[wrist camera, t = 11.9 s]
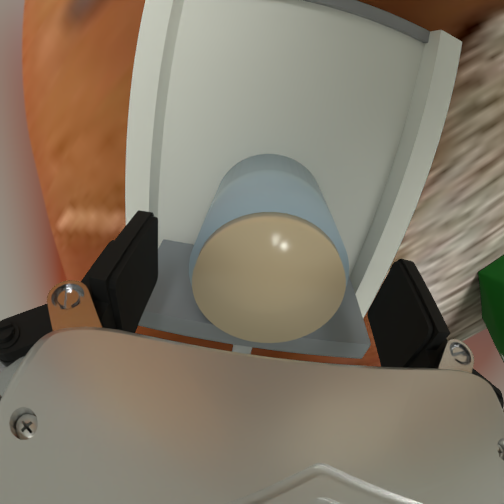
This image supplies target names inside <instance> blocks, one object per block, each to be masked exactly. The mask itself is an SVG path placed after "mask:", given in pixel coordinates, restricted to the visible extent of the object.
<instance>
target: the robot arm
mask: <svg viewBox="0 0 504 504" xmlns="http://www.w3.org/2000/svg"><path fill="white" fill-rule="evenodd" d="M157 279H158V218H157V217H154V214H153V212H146V211H140V210H138V211H137V212H136V214H135V215H134V216H133V217H132V219H131V220H130V221H129V222H128V224H127V225H126V226H125V228H124V229H123V230H122V232H121V233H120V234H119V235H118V237H117V238H116V239H115V240H112V241H111V242H110V243H109V244H108V245H107V246H106V248H105V249H104V250H103V252H102V253H101V254H100V256H99V257H98V258H97V260H96V261H95V263H94V264H93V265H92V267H91V268H90V270H89V271H88V272H87V274H86V275H85V277H84V278H83V280H82V281H81V282H79V281H73V280H69V281H64V282H61V283H59V284H57V285H56V286H54V287H53V288H52V289H51V290H50V292H49V294H48V296H47V304H45V305H42V306H40V307H37V308H34V309H31V310H28V311H26V312H23V313H20V314H17V315H15V316H12V317H9V318H6V319H4V320H2V321H0V504H504V410H503V404H504V402H503V397H502V393H501V391H500V390H499V389H498V388H496V387H495V386H494V385H492V384H491V383H490V382H489V381H488V380H487V379H486V378H484V377H483V376H482V375H480V374H479V373H478V372H477V371H476V370H474V369H473V364H474V357H473V354H472V352H471V350H470V349H469V347H468V346H467V345H466V344H465V343H463V342H462V341H460V340H457V339H451V340H449V341H448V342H447V339H446V338H447V337H448V335H449V334H450V332H449V329H448V327H447V325H446V323H445V321H444V319H443V317H442V315H441V313H440V311H439V309H438V307H437V305H436V303H435V301H434V299H433V297H432V295H431V293H430V291H429V289H428V288H427V286H426V284H425V282H424V280H423V278H422V277H421V275H420V273H419V271H418V269H417V268H416V266H415V264H414V263H413V262H412V261H408V260H404V259H399V260H398V261H397V262H394V264H393V265H392V267H391V269H390V271H389V273H388V275H387V277H386V279H385V281H384V283H383V284H382V286H381V288H380V290H379V292H378V294H377V296H376V297H375V299H374V301H373V303H372V305H371V306H370V308H369V311H368V319H369V322H370V326H371V329H372V333H373V336H374V340H375V344H376V347H377V351H378V355H379V359H380V363H381V367H375V366H357V365H342V364H330V363H318V362H308V361H298V360H289V359H281V358H273V357H265V356H258V355H251V354H244V353H237V352H231V351H225V350H219V349H213V348H207V347H202V346H197V345H191V344H186V343H181V342H176V341H171V340H166V339H161V338H156V337H151V336H146V335H141V334H136V333H135V331H136V329H137V326H138V324H139V322H140V319H141V317H142V314H143V312H144V310H145V307H146V305H147V303H148V301H149V298H150V296H151V294H152V292H153V289H154V287H155V285H156V283H157Z"/></svg>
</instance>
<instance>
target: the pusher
mask: <svg viewBox="0 0 504 504" xmlns="http://www.w3.org/2000/svg"><path fill="white" fill-rule="evenodd" d="M193 246H194V245H193V244H187V243H182V242H176V241H171V240H165V239H163V241H162V243H161V244H160V246H159V248H158V279H157V283H156V285H155V287H154V289H153V292H152V294H151V296H150V298H149V301H148V303H147V305H146V307H145V310H144V312H143V314H142V317H141V319H140V322H139V324H138V325H139V326H143V327H147V328H152V329H156V330H161V331H165V332H170V333H175V334H180V335H184V336H190V337H195V338H200V339H205V340H211V341H217V342H222V343H228V344H233V349H232V352H237V353H244V354H251V351H252V348H253V347H254V348H261V349H268V350H276V351H284V352H292V353H301V354H311V355H321V356H332V357H345V358H360V359H362V357H363V356H364V354H365V353H366V351H367V350H368V348H369V347H370V345H371V343H370V340H369V337H368V333H367V330H366V327H365V323H364V320H363V317H362V314H361V310H360V307H359V304H358V301H357V298H356V295H355V292H354V289H353V286H352V283H351V280H350V277H348V282H347V285H346V289H345V293H344V297H343V300H342V302H341V305H340V306H339V308H338V310H337V311H336V313H335V314H334V315H333V317H332V318H331V319H330V320H329V321H328V322H327V323H325V324H324V325H323V326H322V327H320V328H319V329H317V330H316V331H314V332H312V333H310V334H308V335H306V336H303V337H301V338H298V339H295V340H291V341H286V342H279V343H259V342H252V341H247V340H243V339H240V338H237V337H234V336H232V335H230V334H228V333H226V332H224V331H222V330H221V329H219V328H218V327H216V326H215V325H214V324H212V323H211V322H210V321H209V320H208V319H207V318H206V317H205V316H204V314H203V313H202V312H201V310H200V309H199V307H198V305H197V303H196V301H195V298H194V295H193V290H192V286H191V283H190V278H189V260H190V255H191V252H192V249H193Z"/></svg>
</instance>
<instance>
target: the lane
mask: <svg viewBox="0 0 504 504" xmlns="http://www.w3.org/2000/svg"><path fill="white" fill-rule="evenodd" d="M461 47H462V41H460V40H458V39H457V38H455V37H453V36H452V35H450V34H448V33H446V32H445V31H443V30H436V31H431V32H430V31H428V30H426V29H424V28H422V27H420V26H418V25H416V24H414V23H412V22H410V21H407V20H405V19H403V18H401V17H398V16H396V15H394V14H391V13H389V12H386V11H384V10H381V9H379V8H376V7H374V6H371V5H368V4H365V3H362V2H360V1H357V0H146V1H145V5H144V10H143V15H142V19H141V25H140V30H139V35H138V41H137V47H136V54H135V60H134V67H133V75H132V83H131V92H130V102H129V114H128V127H127V145H126V176H125V207H126V225H127V224H128V222H129V221H130V220H131V219H132V217H133V216H134V215H135V214H136V212H137V211H138V210H140V211H146V212H153V214H154V217H157V218H158V248H159V246H160V244H161V243H162V241H163V239H165V240H171V241H176V242H182V243H187V244H193V245H194V244H195V241H196V239H197V236H198V234H199V231H200V229H201V227H202V224H203V222H204V219H205V217H206V214H207V212H208V210H209V207H210V205H211V203H212V200H213V198H214V196H215V193H216V191H217V189H218V186H219V184H220V182H221V180H222V178H223V177H224V176H225V174H226V173H227V172H228V171H229V170H230V169H231V168H232V167H233V166H234V165H235V164H237V163H238V162H240V161H242V160H244V159H246V158H248V157H251V156H255V155H259V154H278V155H283V156H286V157H289V158H291V159H294V160H296V161H297V162H299V163H301V164H302V165H303V166H304V167H306V168H307V169H308V170H309V171H310V172H311V174H312V175H313V176H314V178H315V179H316V181H317V183H318V185H319V187H320V190H321V192H322V194H323V196H324V199H325V201H326V203H327V206H328V208H329V210H330V213H331V215H332V217H333V220H334V222H335V224H336V227H337V229H338V232H339V234H340V237H341V239H342V242H343V244H344V247H345V249H346V252H347V256H348V261H349V277H350V280H351V283H352V286H353V289H354V292H355V295H356V298H357V301H358V304H359V307H360V310H361V314H362V317H363V318H364V316H365V314H366V312H367V311H368V309H369V307H370V305H371V303H372V301H373V299H374V297H375V296H376V294H377V292H378V290H379V288H380V286H381V284H382V282H383V280H384V278H385V276H386V274H387V272H388V270H389V268H390V265H391V263H392V261H393V259H394V257H395V255H396V253H397V250H398V248H399V246H400V244H401V242H402V239H403V237H404V235H405V232H406V230H407V228H408V225H409V223H410V221H411V218H412V216H413V213H414V211H415V208H416V206H417V203H418V201H419V198H420V195H421V193H422V190H423V187H424V185H425V182H426V179H427V176H428V174H429V171H430V168H431V165H432V162H433V159H434V156H435V153H436V150H437V147H438V143H439V140H440V137H441V133H442V130H443V126H444V123H445V119H446V116H447V112H448V108H449V104H450V100H451V96H452V92H453V88H454V83H455V79H456V74H457V69H458V64H459V58H460V53H461Z"/></svg>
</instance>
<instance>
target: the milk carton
mask: <svg viewBox="0 0 504 504" xmlns="http://www.w3.org/2000/svg"><path fill="white" fill-rule="evenodd" d="M478 276H479V284H480V294H481V305H482V318H483V320H484V322H485V324H486V326H487V329H488V331H489V333H490V335H491V337H492V339H493V342H494V344H495V346H496V348H497V350H498V352H499V354H500V356H501V358H502V360H503V362H504V255H503V256H501V257H500V258H499V259H497V260H496V261H494V262H493V263H491V264H490V265H488V266H487V267H485V268H484V269H482V270H481V271H479V272H478Z"/></svg>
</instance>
